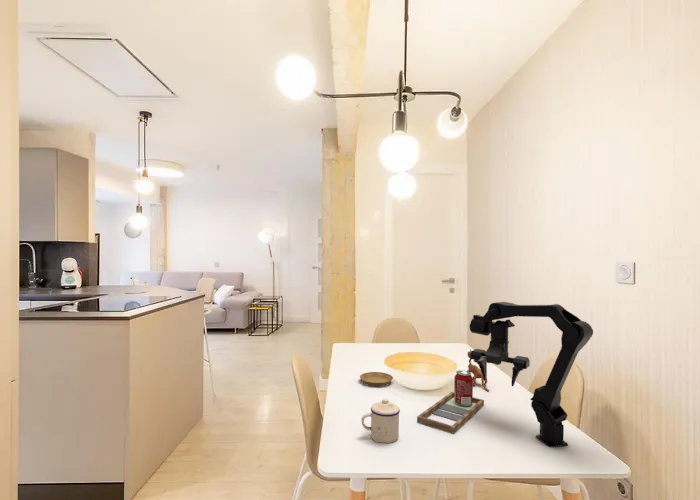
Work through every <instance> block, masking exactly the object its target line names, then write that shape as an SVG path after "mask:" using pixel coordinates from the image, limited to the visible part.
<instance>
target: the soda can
mask: <svg viewBox="0 0 700 500" xmlns="http://www.w3.org/2000/svg"><path fill="white" fill-rule="evenodd" d="M453 377H454V379H453V381H454V384H453V385H454V388H453V389H454V391H453V392H454V402H455V403H456V404H457V405H459V406H464V407H467V406H470V405H472V402H473V397H474V396H473V394H474V390H473V389H474V388H473V387H474V386H473V382H474V381H473V376H472V372H471V373H470V372H468V371H467V370H461V369H460V370H457V371H456V372H455V375H454V376H453Z"/></svg>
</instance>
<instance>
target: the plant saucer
mask: <svg viewBox="0 0 700 500" xmlns="http://www.w3.org/2000/svg"><path fill="white" fill-rule="evenodd" d="M359 379H360V380H361V381H362V382H363V384H365V385H367V386H370V387H380V388H381V387H385V386H387V385H389V384H390V383H391V382H392V380H394V377H393V375H391V374H388V373H385V372H380V371H369V372H368V371H367V372H365V373H362V374H361V375H360V376H359Z"/></svg>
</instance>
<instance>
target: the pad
mask: <svg viewBox="0 0 700 500" xmlns="http://www.w3.org/2000/svg"><path fill="white" fill-rule="evenodd" d="M445 405H449V406H453V407H456V408H460V409H464V410H468V411H469V410H470V409H471V408H472V407H473V406H475V405H476V403H472V405H470V406H467V407H464V406H459V405H457V404H456V403H455V402H454V398H452V399H451V400H449V401H448V402H447V403H445Z"/></svg>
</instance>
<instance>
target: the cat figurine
mask: <svg viewBox="0 0 700 500" xmlns="http://www.w3.org/2000/svg"><path fill="white" fill-rule="evenodd" d="M471 351H472V349H469V351H467V357H468V358H469V359H468V363H469V364H468V365H467V370H466V371H468V372H470V373H471V374H472V375H473V376H472V378H473V387H475V386H476V383H477V382H476V379H481V380H480V381H481V384H482V387H483V389H484V390H485V391H487V392H490V390H489V388H487V386H486V385H487V383H488V377H487V378H486V380H484V378H483V375H482V372H481V369H480V367H479V366H477V365H475V364H472V359H470V353H471Z"/></svg>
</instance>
